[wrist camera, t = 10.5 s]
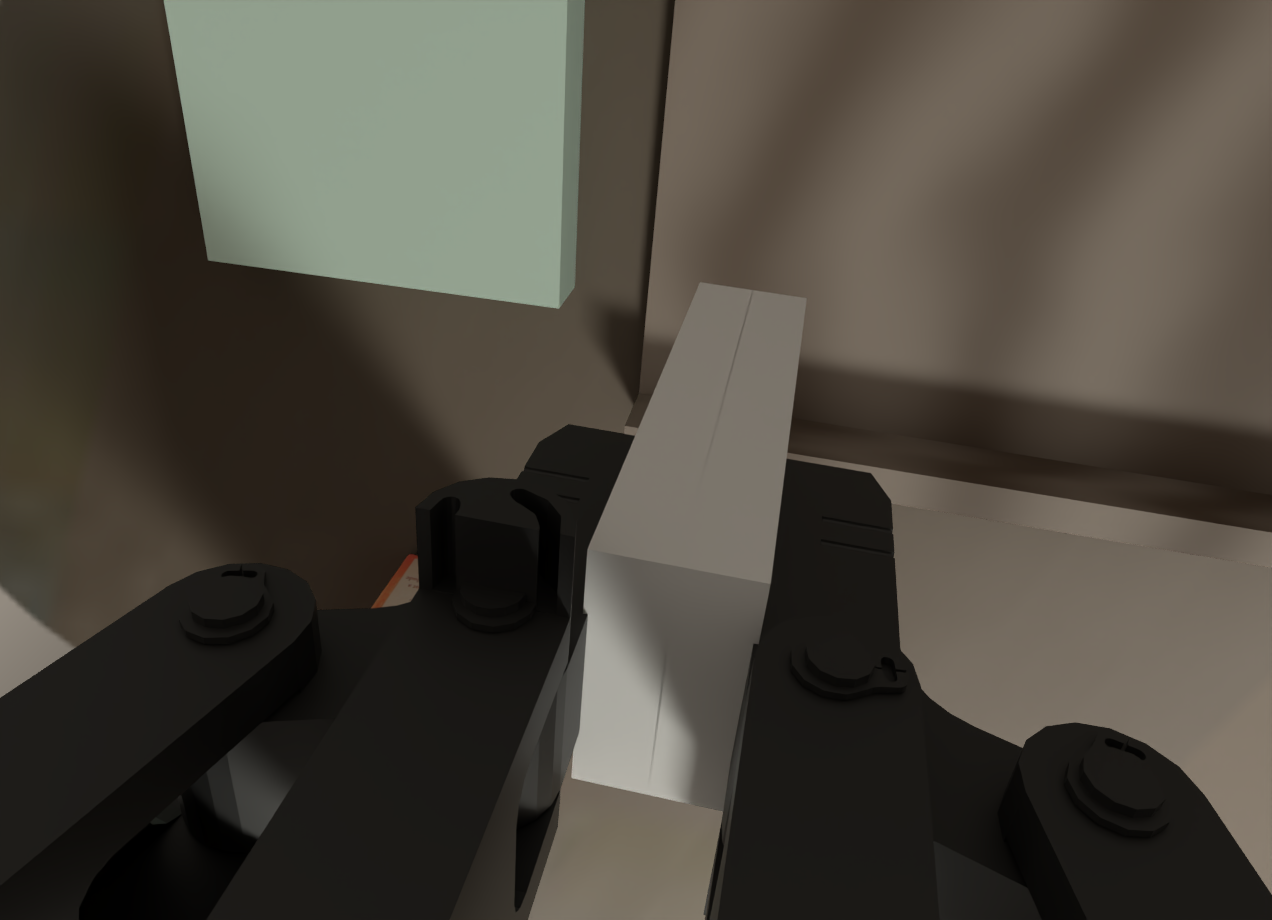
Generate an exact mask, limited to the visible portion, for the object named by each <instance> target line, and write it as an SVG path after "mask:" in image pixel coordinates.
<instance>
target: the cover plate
mask: <svg viewBox="0 0 1272 920" xmlns="http://www.w3.org/2000/svg"><path fill="white" fill-rule="evenodd" d="M164 4H165V10H166V16H167V22H168V28H169V34H170V39H171V45H172V51H173V57H174V63H175V69H176V75H177V81H178V86H179V92H180V98H181V104H182V110H183V116H184V122H185V127H186V133H187V139H188V145H189V151H190V157H191V163H192V169H193V174H194V180H195V186H196V192H197V198H198V204H199V210H200V216H201V221H202V227H203V233H204V239H205V245H206V251H207V257H208V260H209V261H216V262H223V263H231V264H238V265H245V266H252V267H260V268H267V269H274V270H282V271H289V272H296V273H304V274H311V275H318V276H325V277H333V278H340V279H347V280H355V281H362V282H369V283H377V284H384V285H391V286H398V287H406V288H413V289H420V290H428V291H435V292H442V293H450V294H457V295H464V296H471V297H479V298H486V299H493V300H501V301H508V302H515V303H523V304H530V305H537V306H544V307H552V308H560V307H561V305H562V304H563V302H564V301H565V300H566V298H567V297H568V296H569V294H570V293H571V291H572V290H573V289H574V287H575V265H576V237H577V208H578V180H579V151H580V122H581V94H582V65H583V37H584V8H585V0H164Z"/></svg>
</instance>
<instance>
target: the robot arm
mask: <svg viewBox="0 0 1272 920" xmlns="http://www.w3.org/2000/svg"><path fill="white" fill-rule="evenodd" d="M806 300H807V298H802V297H795V296H789V295H782V294H775V293H769V292H762V291H755V290H749V289H742V288H735V287H728V286H722V285H715V284H708V283H702V282H700V284H699V286H698V288H697V291H696V293H695V295H694V298H693V300H692V303H691V305H690V307H689V310H688V312H687V314H686V317H685V319H684V321H683V324H682V326H681V329H680V331H679V333H678V336H677V338H676V340H675V343H674V345H673V348H672V350H671V352H670V355H669V357H668V359H667V362H666V364H665V367H664V369H663V371H662V374H661V376H660V378H659V381H658V383H657V386H656V388H655V390H654V393H653V395H652V397H651V400H650V402H649V405H648V407H647V409H646V412H645V414H644V416H643V419H642V421H641V424H640V426H639V428H638V431H637V433H636V435H635V436H634V435H628V434H622V433H616V432H611V431H605V430H599V429H593V428H587V427H581V426H576V425H570V424H568V425H567V426H565V427H563V428H562V429H560V430H558V431H557V432H555V433H553V434H552V435H550V436H549V437H547V438H545V439H544V440H542V441H540V442H539V443H538V445H537V447H536V448H535V450H534V452H533V453H532V455H531V457H530V458H529V460H528V462H527V463H526V465H525V468H524V471H522V472H521V473H520V475H519V477H518V478H517V479H503V478H482V479H475V480H468V481H461V482H457V483H455V484H452V485H450V486H447V487H445V488H442V489H440V490H437V491H435V492H433V493H432V494H430V495H429V496H428V497H427V498H426V499H425V500H424V501H422V502H421V503H420V504H419V505H418V506H417V507H415V508H416V530H417V552H418V574H419V589H418V591H417V592H416V594H415V595H414V597H413V599H412V600H411V602H408V603H404V604H400V605H397V606H388V607H379V608H365V609H334V610H317V607H316V600H315V598H314V595H313V593H312V591H311V589H310V587H309V585H308V583H307V582H306V581H305V580H303V579H302V578H300V577H299V576H297V575H296V574H294V573H293V572H291V571H290V570H288V569H284V568H279V567H275V566H271V565H266V564H262V563H250V564H227V565H223V566H219V567H215V568H211V569H207V570H203V571H199V572H196V573H194V574H192V575H190V576H188V577H186V578H184V579H182V580H180V581H178V582H176V583H173V584H171V585H169V586H168V587H166V588H165V589H163V590H162V591H160V592H159V593H157V594H156V595H154V596H153V597H151V598H150V599H148V600H147V601H145V602H144V603H142V604H141V605H139V606H138V607H136V608H135V609H133V610H132V611H130V612H129V613H127V614H126V615H124V616H123V617H121V618H120V619H118V620H117V621H115V622H114V623H112V624H111V625H109V626H108V627H106V628H105V629H103V630H101V631H100V632H99V633H97V634H95V635H94V636H92V637H91V638H89V639H88V640H86V641H85V642H83V643H82V644H80V645H79V646H77V647H76V648H74V649H73V650H71V651H70V652H68V653H67V654H65V655H64V656H63V657H61V658H60V659H58V660H56V661H55V662H53V663H52V664H50V665H49V666H48V667H46V668H44V669H43V670H41V671H40V672H38V673H37V674H36V675H34V676H32V677H31V678H30V679H28V680H26V681H25V682H23V683H22V684H20V685H19V686H17V687H16V688H14V689H13V690H12V691H10V692H8V693H7V694H5V695H4V696H2V697H1V698H0V920H528V917H529V914H530V911H531V908H532V905H533V902H534V898H535V895H536V892H537V889H538V886H539V883H540V880H541V877H542V874H543V871H544V867H545V864H546V861H547V858H548V855H549V852H550V849H551V846H552V843H553V840H554V836H555V833H556V830H557V827H558V816H559V804H560V788H561V785H562V782H563V779H564V776H565V773H566V770H567V767H568V764H569V761H570V758H571V755H572V752H573V764H572V778H574V779H579V780H583V781H588V782H592V783H597V784H601V785H606V786H610V787H615V788H619V789H624V790H628V791H633V792H637V793H642V794H647V795H651V796H656V797H660V798H665V799H669V800H674V801H678V802H683V803H687V804H692V805H696V806H701V807H705V808H710V809H714V810H719V811H723V816H722V823H721V828H720V833H719V838H718V843H717V848H716V853H715V859H714V864H713V869H712V874H711V879H710V884H709V889H708V894H707V899H706V904H705V909H704V915H706V917H705V920H1272V894H1271V893H1270V891H1269V890H1268V889H1267V887H1266V886H1265V884H1264V883H1263V881H1262V880H1261V878H1260V877H1259V875H1258V874H1257V872H1256V871H1255V869H1254V868H1253V866H1252V865H1251V863H1250V862H1249V860H1248V859H1247V857H1246V856H1245V854H1244V853H1243V851H1242V850H1241V848H1240V847H1239V845H1238V844H1237V843H1236V841H1235V840H1234V838H1233V837H1232V835H1231V834H1230V832H1229V831H1228V829H1227V828H1226V826H1225V825H1224V823H1223V822H1222V820H1221V819H1220V817H1219V816H1218V814H1217V813H1216V811H1215V810H1214V808H1213V807H1212V805H1211V804H1210V802H1209V801H1208V799H1207V798H1206V796H1205V795H1204V794H1203V793H1202V792H1201V791H1200V790H1199V788H1198V787H1197V786H1196V785H1195V784H1194V783H1193V782H1192V781H1191V780H1190V778H1189V777H1188V776H1187V775H1186V774H1185V773H1184V772H1183V771H1182V770H1181V768H1180V767H1179V766H1177V765H1176V764H1174V763H1173V762H1171V761H1170V760H1169V759H1167V758H1166V757H1164V756H1163V755H1161V754H1160V753H1158V752H1157V751H1156V750H1154V749H1153V748H1151V747H1150V746H1148V745H1147V744H1145V743H1143V742H1141V741H1138V740H1136V739H1133V738H1131V737H1129V736H1126V735H1124V734H1122V733H1119V732H1117V731H1115V730H1112V729H1110V728H1104V727H1098V726H1093V725H1087V724H1081V723H1068V724H1061V725H1053V726H1046V727H1045V728H1043V729H1042V730H1040V731H1039V732H1037V733H1036V734H1034V735H1033V736H1032V737H1030V738H1029V739H1027V740H1026V742H1025V744H1024V747H1023V748H1021V747H1019V746H1017V745H1014V744H1012V743H1010V742H1008V741H1005V740H1003V739H1001V738H999V737H996V736H994V735H992V734H990V733H987V732H985V731H983V730H981V729H978V728H976V727H974V726H972V725H970V724H969V723H967V722H965V721H963V720H961V719H959V718H957V717H955V716H954V715H952V714H950V713H949V712H947V711H946V710H945V709H943V708H942V707H941V706H939V705H938V704H937V703H935V702H934V701H933V700H932V699H930V698H929V697H928V696H927V695H926V694H925V693H924V691H923V690H922V689H921V686H920V683H919V680H918V677H917V674H916V672H915V669H914V666H913V664H912V663H911V661H910V660H909V659H908V658H907V657H906V656H905V655H904V654H903V653H902V651H901V649H900V638H899V621H898V605H897V589H896V572H895V558H893V556H894V540H893V534H892V530H893V523H892V507H891V500H890V498H889V497H888V496H887V494H886V493H885V491H884V490H883V489H882V487H881V486H880V485H879V483H878V482H877V481H876V479H875V478H874V476H873V475H872V474H871V473H868V472H862V471H856V470H850V469H845V468H839V467H833V466H827V465H821V464H815V463H810V462H804V461H798V460H792V459H786V458H787V450H788V442H789V435H790V427H791V419H792V411H793V403H794V395H795V387H796V379H797V371H798V363H799V355H800V347H801V340H802V332H803V324H804V316H805V308H806Z"/></svg>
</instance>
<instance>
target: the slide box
mask: <svg viewBox="0 0 1272 920" xmlns="http://www.w3.org/2000/svg"><path fill="white" fill-rule="evenodd" d="M700 282H702V283H708V284H715V285H722V286H728V287H735V288H742V289H749V290H755V291H762V292H769V293H775V294H782V295H789V296H795V297H802V298H807V300H806V308H805V316H804V324H803V332H802V340H801V347H800V355H799V363H798V371H797V379H796V387H795V395H794V403H793V411H792V419H791V427H790V435H789V442H788V450H787V458H786V459H792V460H798V461H804V462H810V463H815V464H821V465H827V466H833V467H839V468H845V469H850V470H856V471H862V472H868V473H871V474H872V475H873V476H874V478H875V479H876V481H877V482H878V483H879V485H880V486H881V487H882V489H883V490H884V491H885V493H886V494H887V496H888V497H889V498H890V500H891V504H897V505H903V506H909V507H915V508H921V509H926V510H932V511H938V512H944V513H950V514H956V515H962V516H968V517H974V518H980V519H986V520H991V521H997V522H1003V523H1009V524H1015V525H1021V526H1027V527H1033V528H1039V529H1045V530H1051V531H1056V532H1062V533H1068V534H1074V535H1080V536H1086V537H1092V538H1098V539H1104V540H1110V541H1116V542H1121V543H1127V544H1133V545H1139V546H1145V547H1151V548H1157V549H1163V550H1169V551H1175V552H1181V553H1186V554H1192V555H1198V556H1204V557H1210V558H1216V559H1222V560H1228V561H1234V562H1240V563H1246V564H1251V565H1257V566H1263V567H1269V568H1272V0H675V8H674V19H673V30H672V41H671V51H670V62H669V73H668V84H667V95H666V105H665V116H664V127H663V138H662V149H661V159H660V170H659V181H658V192H657V203H656V213H655V224H654V235H653V246H652V257H651V268H650V278H649V289H648V300H647V311H646V322H645V332H644V343H643V354H642V365H641V376H640V386H639V394H638V397H637V399H636V401H635V404H634V406H633V408H632V411H631V413H630V415H629V418H628V420H627V422H626V425H625V430H624V434H628V435H634V436H635V435H636V433H637V431H638V428H639V426H640V424H641V421H642V419H643V416H644V414H645V412H646V409H647V407H648V405H649V402H650V400H651V397H652V395H653V393H654V390H655V388H656V386H657V383H658V381H659V378H660V376H661V374H662V371H663V369H664V367H665V364H666V362H667V359H668V357H669V355H670V352H671V350H672V348H673V345H674V343H675V340H676V338H677V336H678V333H679V331H680V329H681V326H682V324H683V321H684V319H685V317H686V314H687V312H688V310H689V307H690V305H691V303H692V300H693V298H694V295H695V293H696V291H697V288H698V286H699V284H700Z"/></svg>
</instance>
